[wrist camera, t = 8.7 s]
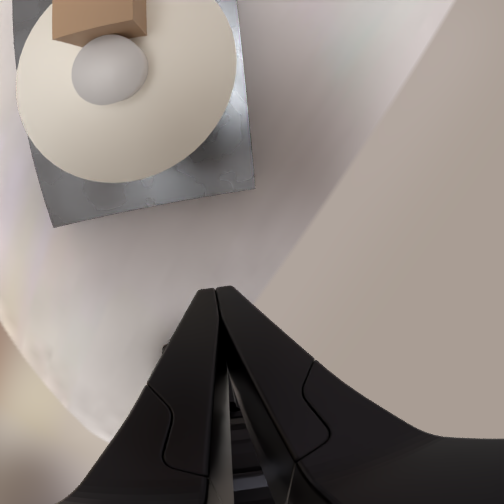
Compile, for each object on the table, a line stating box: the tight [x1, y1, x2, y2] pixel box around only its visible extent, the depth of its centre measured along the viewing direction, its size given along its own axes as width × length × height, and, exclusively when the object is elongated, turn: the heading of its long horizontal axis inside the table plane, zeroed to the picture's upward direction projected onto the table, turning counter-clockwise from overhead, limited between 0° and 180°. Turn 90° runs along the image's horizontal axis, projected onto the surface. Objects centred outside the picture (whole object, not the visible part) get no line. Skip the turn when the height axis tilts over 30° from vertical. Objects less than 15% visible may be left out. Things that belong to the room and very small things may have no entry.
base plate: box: [12, 0, 255, 228], centre depth 14 cm, size 15×12×2 cm
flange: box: [16, 0, 237, 183], centre depth 10 cm, size 11×13×5 cm
